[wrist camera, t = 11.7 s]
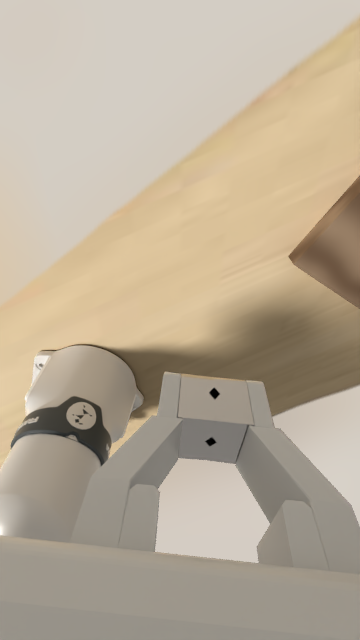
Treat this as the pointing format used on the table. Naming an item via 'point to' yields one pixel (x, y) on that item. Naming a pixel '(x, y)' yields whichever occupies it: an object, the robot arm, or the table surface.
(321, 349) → the table surface
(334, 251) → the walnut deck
